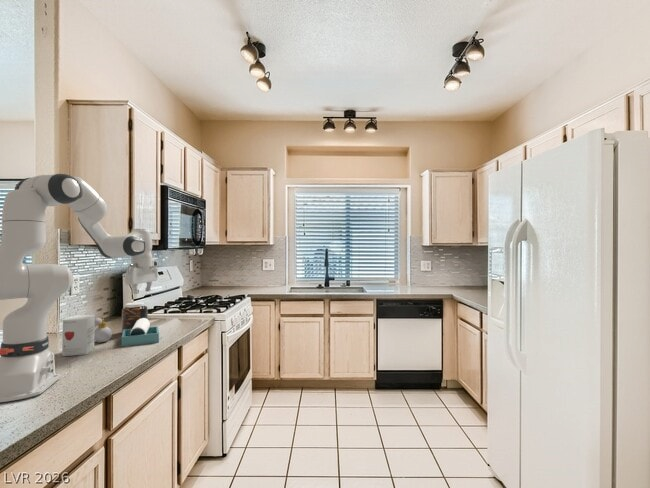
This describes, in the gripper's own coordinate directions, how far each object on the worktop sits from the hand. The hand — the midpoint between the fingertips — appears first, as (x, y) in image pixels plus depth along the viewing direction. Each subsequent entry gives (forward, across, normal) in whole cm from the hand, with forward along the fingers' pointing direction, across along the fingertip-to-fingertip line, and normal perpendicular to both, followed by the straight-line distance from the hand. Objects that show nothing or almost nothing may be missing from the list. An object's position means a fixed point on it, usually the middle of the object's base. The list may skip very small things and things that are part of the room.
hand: (142, 292), depth 165 cm
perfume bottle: (+23, -4, +17) cm, 29 cm away
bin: (+23, +1, +1) cm, 23 cm away
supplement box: (+23, -19, +16) cm, 34 cm away
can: (+18, -5, -1) cm, 19 cm away
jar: (+22, +14, +13) cm, 30 cm away
